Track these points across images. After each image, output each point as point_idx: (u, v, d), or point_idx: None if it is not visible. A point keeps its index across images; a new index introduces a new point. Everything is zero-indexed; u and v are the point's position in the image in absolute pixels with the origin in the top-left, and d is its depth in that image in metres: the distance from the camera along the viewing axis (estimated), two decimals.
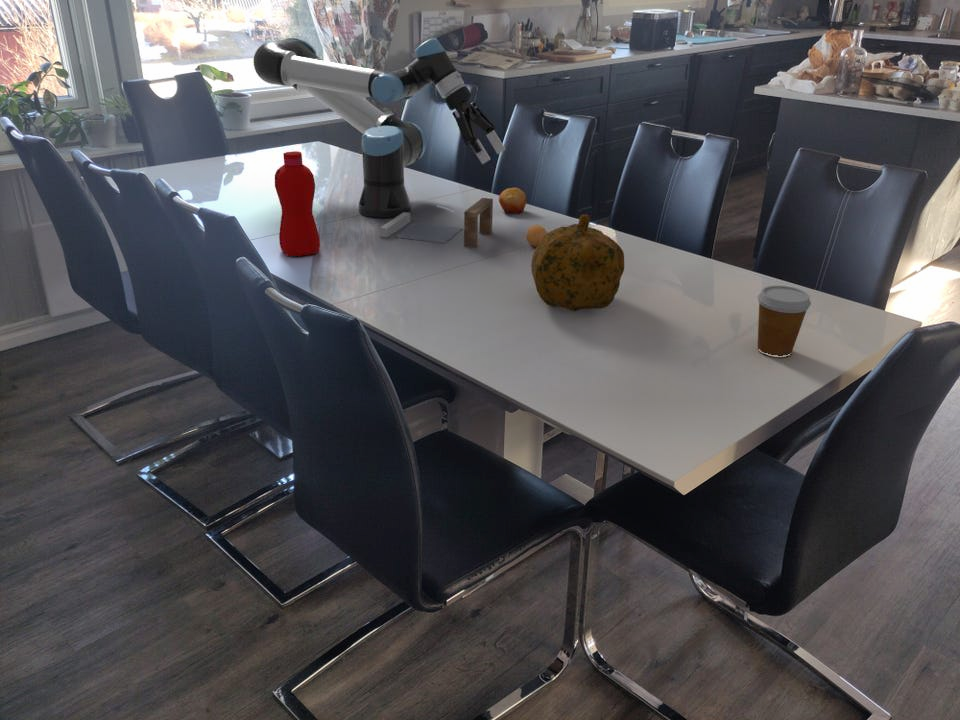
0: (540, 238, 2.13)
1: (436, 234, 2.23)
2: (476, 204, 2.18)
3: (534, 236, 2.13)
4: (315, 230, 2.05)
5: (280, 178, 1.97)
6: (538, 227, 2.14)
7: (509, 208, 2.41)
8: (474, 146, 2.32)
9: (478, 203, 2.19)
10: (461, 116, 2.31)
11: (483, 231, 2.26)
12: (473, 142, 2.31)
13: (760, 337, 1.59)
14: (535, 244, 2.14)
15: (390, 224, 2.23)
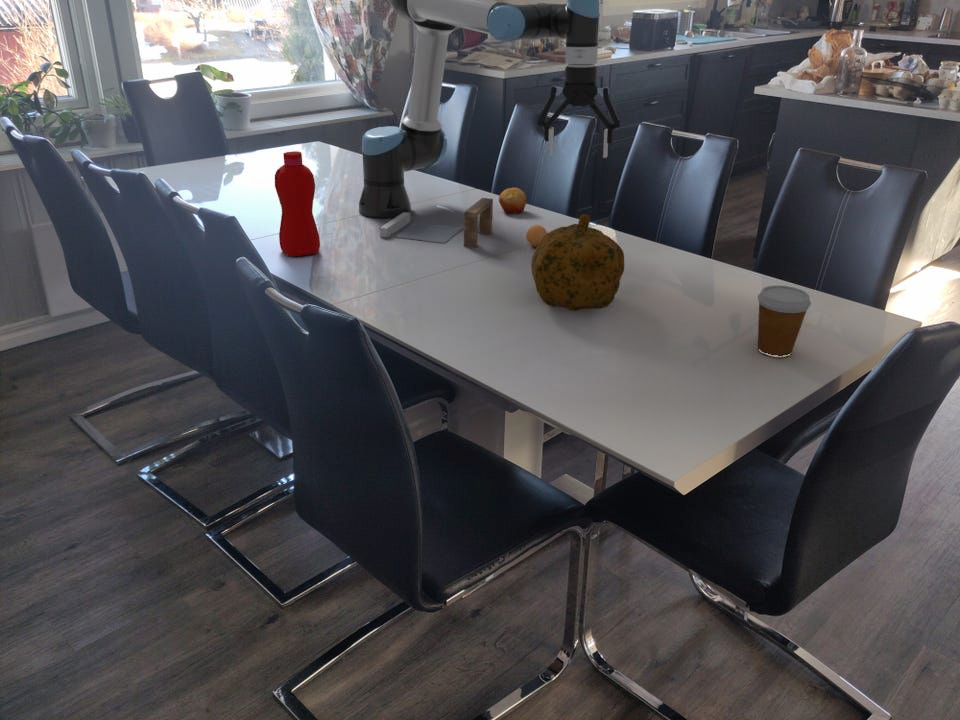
0: (540, 238, 2.13)
1: (436, 234, 2.23)
2: (476, 204, 2.18)
3: (534, 236, 2.13)
4: (315, 230, 2.05)
5: (280, 178, 1.97)
6: (538, 227, 2.14)
7: (509, 208, 2.41)
8: None
9: (478, 203, 2.19)
10: (550, 96, 2.01)
11: (483, 231, 2.26)
12: (544, 128, 2.05)
13: (760, 337, 1.59)
14: (535, 244, 2.14)
15: (390, 224, 2.23)
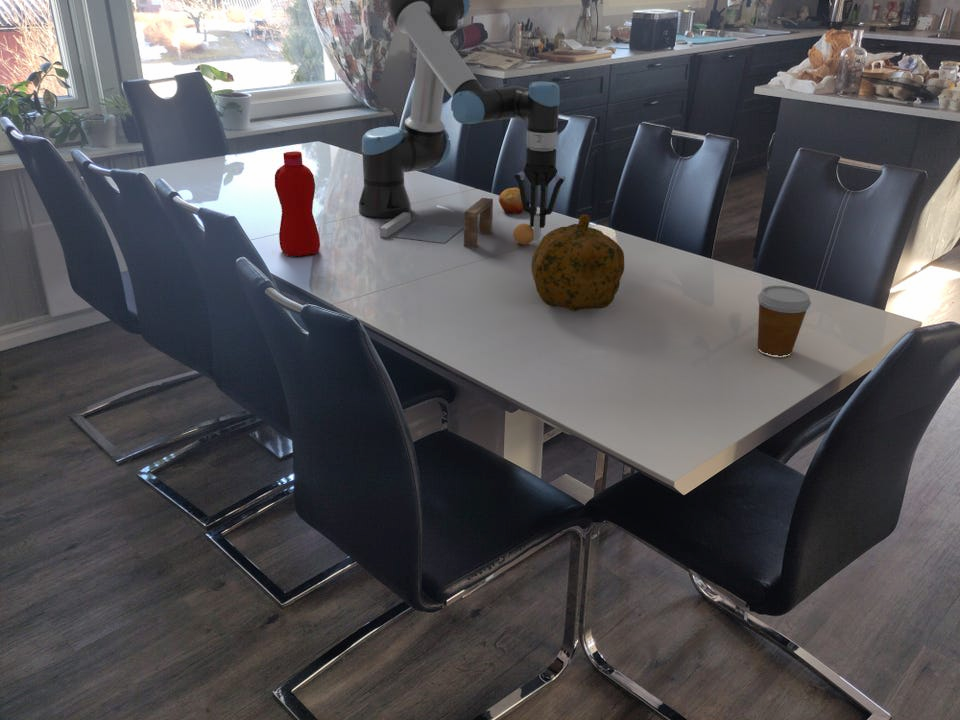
0: (526, 232, 2.14)
1: (436, 234, 2.23)
2: (476, 204, 2.18)
3: (519, 235, 2.14)
4: (315, 230, 2.05)
5: (280, 178, 1.97)
6: (517, 226, 2.15)
7: (509, 208, 2.41)
8: None
9: (478, 203, 2.19)
10: None
11: (483, 231, 2.26)
12: None
13: (760, 337, 1.59)
14: (526, 240, 2.15)
15: (390, 224, 2.23)
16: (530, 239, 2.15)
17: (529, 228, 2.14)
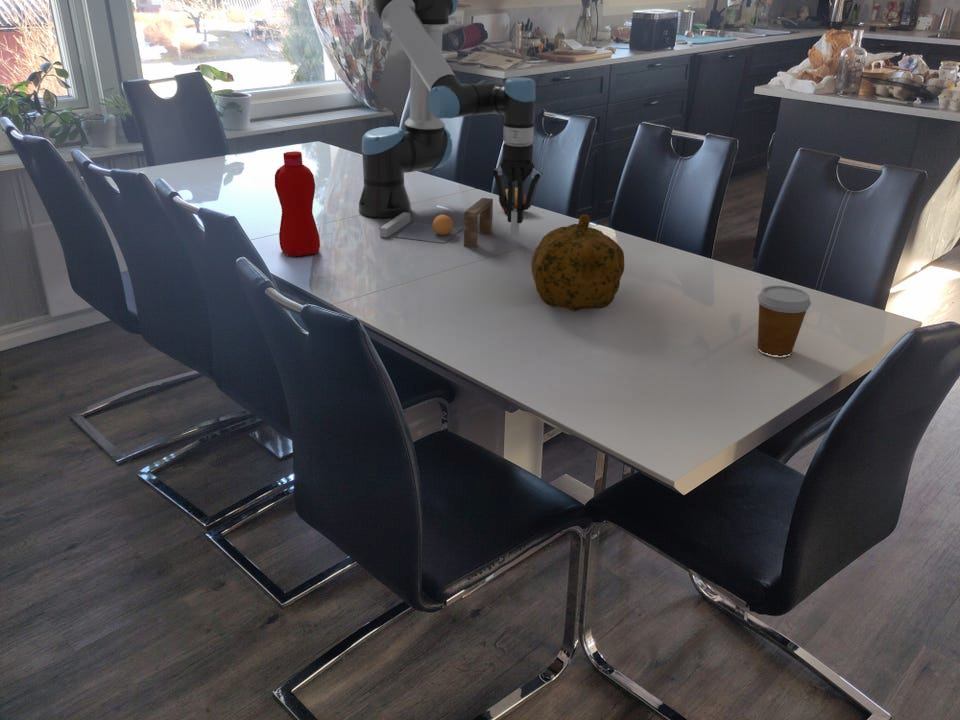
0: (435, 223, 2.21)
1: (436, 234, 2.23)
2: (476, 204, 2.18)
3: (438, 230, 2.21)
4: (315, 230, 2.05)
5: (280, 178, 1.97)
6: None
7: None
8: None
9: (478, 203, 2.19)
10: None
11: (483, 231, 2.26)
12: None
13: (760, 337, 1.59)
14: (443, 222, 2.20)
15: (390, 224, 2.23)
16: (442, 218, 2.20)
17: (434, 220, 2.22)
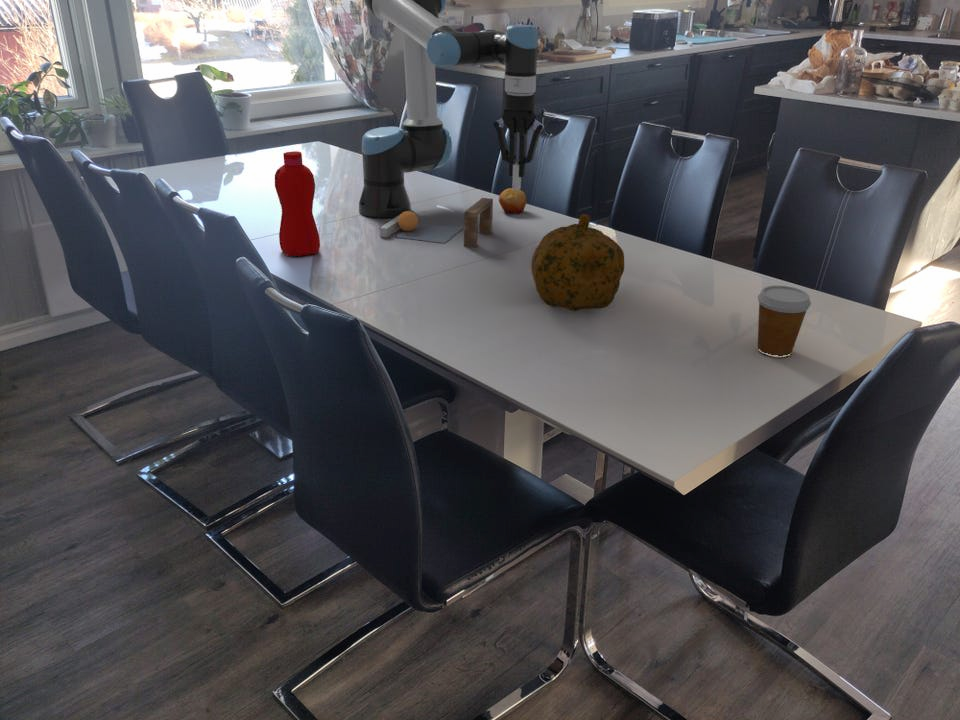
0: (410, 224, 2.23)
1: (436, 234, 2.23)
2: (476, 204, 2.18)
3: (404, 221, 2.23)
4: (315, 230, 2.05)
5: (280, 178, 1.97)
6: (409, 213, 2.23)
7: (509, 208, 2.41)
8: None
9: (478, 203, 2.19)
10: None
11: (483, 231, 2.26)
12: None
13: (760, 337, 1.59)
14: (405, 229, 2.24)
15: (390, 224, 2.23)
16: (409, 230, 2.25)
17: (415, 223, 2.24)
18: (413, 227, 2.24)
